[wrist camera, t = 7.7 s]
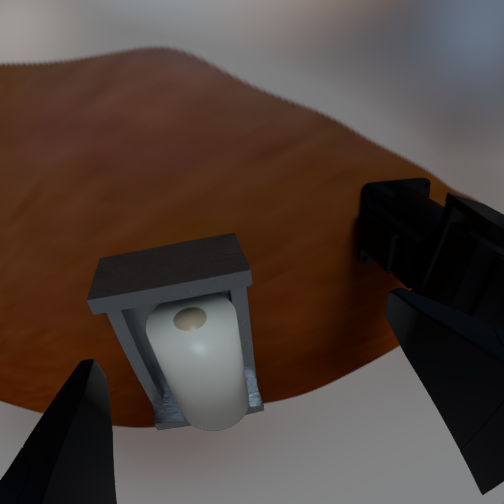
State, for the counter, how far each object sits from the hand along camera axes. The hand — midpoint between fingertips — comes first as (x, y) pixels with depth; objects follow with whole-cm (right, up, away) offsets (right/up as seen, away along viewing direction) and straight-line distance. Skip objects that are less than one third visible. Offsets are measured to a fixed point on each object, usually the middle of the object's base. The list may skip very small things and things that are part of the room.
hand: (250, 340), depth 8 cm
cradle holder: (-5, -3, +15) cm, 16 cm away
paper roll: (-5, -4, +14) cm, 15 cm away
